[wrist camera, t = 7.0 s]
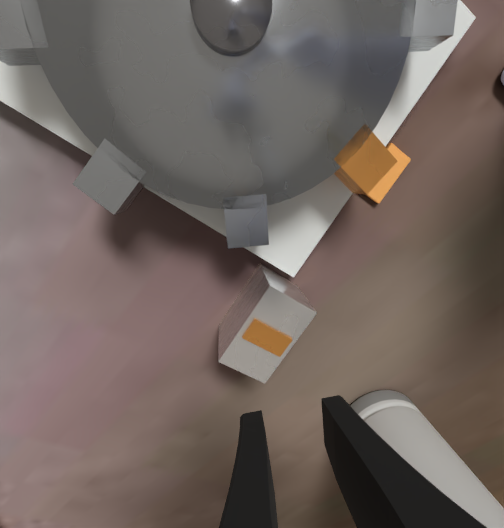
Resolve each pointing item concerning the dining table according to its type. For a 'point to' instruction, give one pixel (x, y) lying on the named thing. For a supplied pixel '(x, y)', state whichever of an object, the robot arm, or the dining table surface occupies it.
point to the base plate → (280, 214)
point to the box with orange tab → (263, 324)
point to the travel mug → (428, 453)
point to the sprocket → (224, 93)
